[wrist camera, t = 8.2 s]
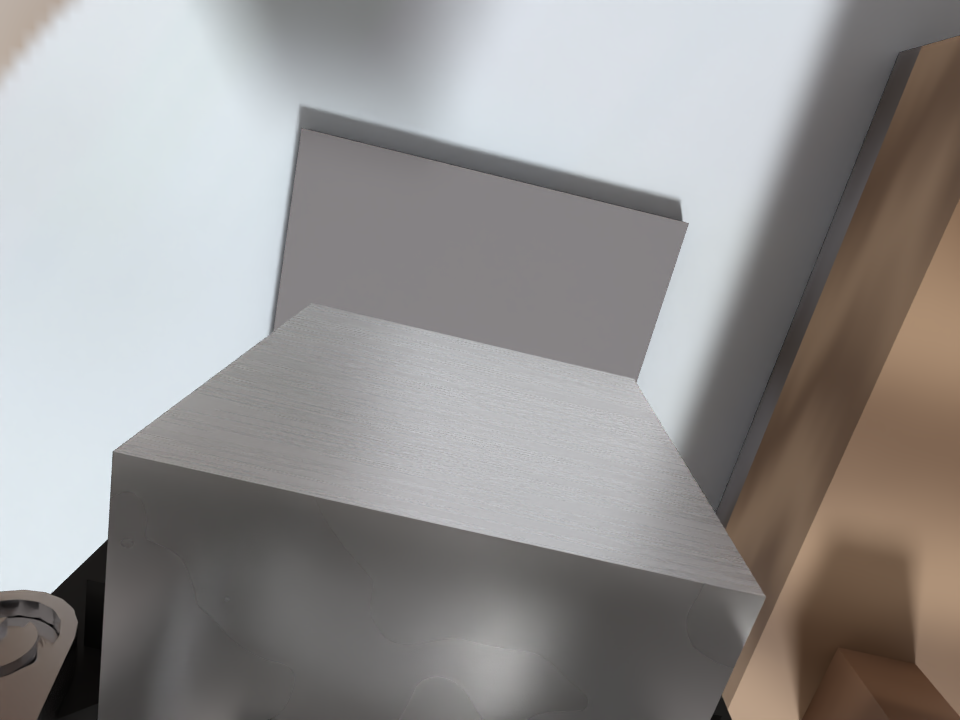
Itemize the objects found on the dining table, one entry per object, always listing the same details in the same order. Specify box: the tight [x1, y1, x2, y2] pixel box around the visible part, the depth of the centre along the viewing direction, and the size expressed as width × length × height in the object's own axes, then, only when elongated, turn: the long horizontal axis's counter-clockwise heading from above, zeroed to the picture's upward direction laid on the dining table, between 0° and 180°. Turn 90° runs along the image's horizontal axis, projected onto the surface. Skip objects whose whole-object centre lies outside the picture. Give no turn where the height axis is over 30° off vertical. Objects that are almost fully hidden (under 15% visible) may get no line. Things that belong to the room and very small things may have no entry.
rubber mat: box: [273, 128, 689, 382], centre depth 21 cm, size 12×12×1 cm
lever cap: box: [98, 303, 766, 720], centre depth 8 cm, size 7×5×6 cm
